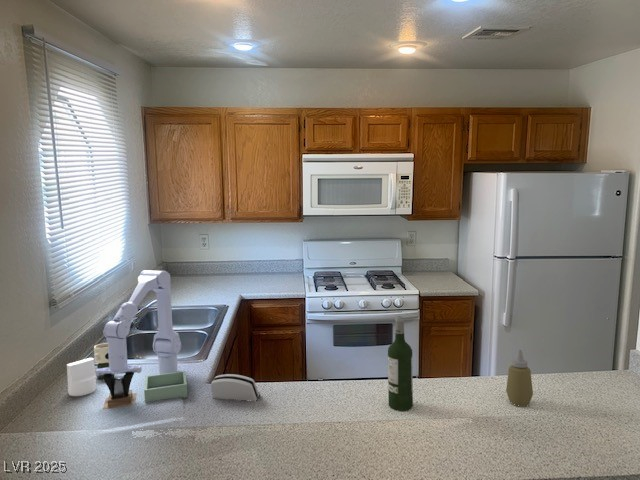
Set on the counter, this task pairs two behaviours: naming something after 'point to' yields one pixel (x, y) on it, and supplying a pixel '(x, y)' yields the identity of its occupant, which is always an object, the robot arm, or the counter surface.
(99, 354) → the character mug
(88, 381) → the white grooved block
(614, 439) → the counter surface
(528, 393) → the squeeze bottle
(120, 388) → the strut
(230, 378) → the grey toaster
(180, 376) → the bin
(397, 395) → the wine bottle
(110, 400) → the socket block
